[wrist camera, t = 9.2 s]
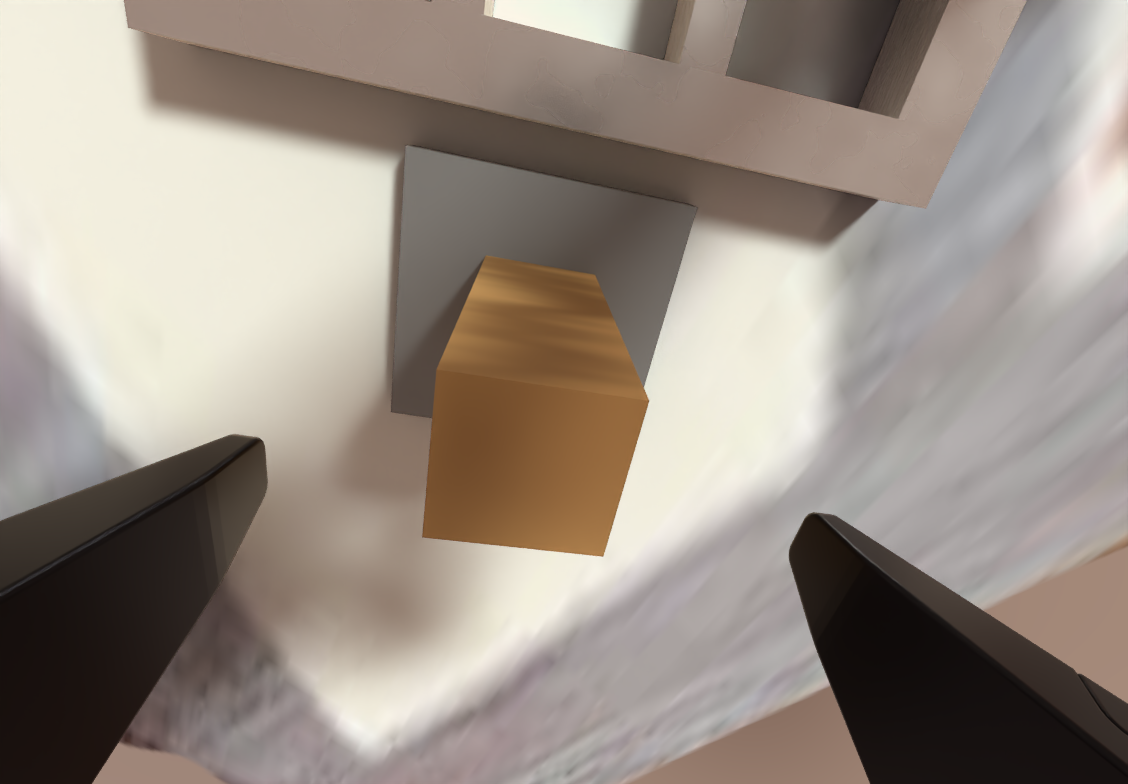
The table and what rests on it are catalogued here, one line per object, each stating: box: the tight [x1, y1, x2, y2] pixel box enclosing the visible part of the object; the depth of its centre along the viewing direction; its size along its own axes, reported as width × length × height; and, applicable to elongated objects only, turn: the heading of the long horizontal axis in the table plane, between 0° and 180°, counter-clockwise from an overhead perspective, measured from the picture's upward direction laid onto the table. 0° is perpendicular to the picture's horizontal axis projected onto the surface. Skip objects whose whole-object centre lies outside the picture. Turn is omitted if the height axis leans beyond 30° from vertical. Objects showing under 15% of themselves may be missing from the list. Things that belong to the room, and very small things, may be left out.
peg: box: [422, 255, 649, 556], centre depth 15 cm, size 4×4×10 cm
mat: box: [391, 145, 697, 418], centre depth 20 cm, size 10×10×1 cm
